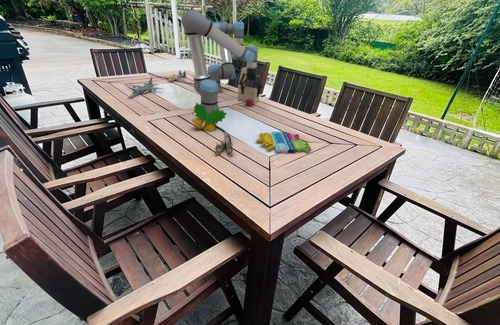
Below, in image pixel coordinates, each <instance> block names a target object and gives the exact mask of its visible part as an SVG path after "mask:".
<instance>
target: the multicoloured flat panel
mask: <svg viewBox="0 0 500 325" xmlns="http://www.w3.org/2000/svg"><path fill="white" fill-rule="evenodd" d="M299 136H300V135H299V134H298V133H296V134H294V133H291V132H287V131H270V132H264V133H263V132H260V133H259V139H258V138H257V139H256V143H257V144H261V148H263V147H264V148H265V149H267V151H268V152H271V151H272V150H273V149H275V152H276V153H283V154H285V153H287V154H288V153H290V154H293V153H296V152H298V153H301V152H305V153H310V151H311V150H312V149H311V148H312V146H309V142H304V141H303V139H302V138H299Z"/></svg>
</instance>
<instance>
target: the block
mask: <svg viewBox="0 0 500 325" xmlns="http://www.w3.org/2000/svg"><path fill="white" fill-rule="evenodd" d="M245 106H246V107H249V108H250V107H253V106H254V103H253V100H251V99H247V100H246V102H245Z"/></svg>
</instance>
